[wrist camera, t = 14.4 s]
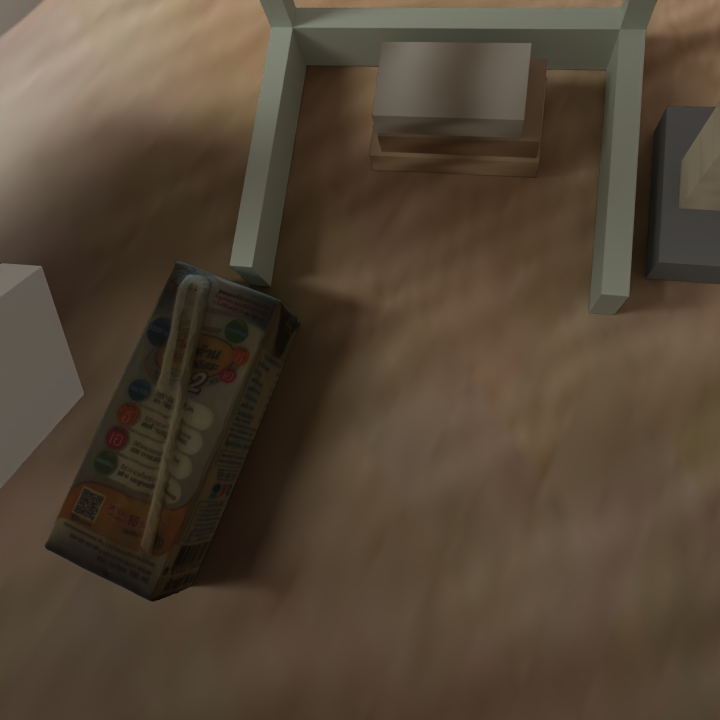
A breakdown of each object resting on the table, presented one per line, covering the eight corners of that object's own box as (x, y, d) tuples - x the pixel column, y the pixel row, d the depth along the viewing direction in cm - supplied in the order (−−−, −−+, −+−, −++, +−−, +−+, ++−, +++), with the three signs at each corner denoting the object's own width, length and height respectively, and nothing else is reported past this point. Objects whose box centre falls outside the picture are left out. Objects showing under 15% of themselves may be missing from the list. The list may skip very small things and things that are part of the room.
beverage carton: (310, 322, 44) (283, 294, 38) (196, 594, 42) (147, 614, 35) (209, 284, 46) (167, 251, 39) (94, 544, 44) (30, 554, 37)
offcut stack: (373, 169, 45) (359, 122, 39) (384, 91, 46) (372, 34, 40) (536, 177, 43) (546, 128, 37) (543, 95, 44) (554, 35, 38)
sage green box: (250, 284, 45) (190, 228, 35) (290, 46, 48) (245, -65, 39) (613, 314, 41) (659, 259, 31) (631, 50, 44) (677, -75, 34)
